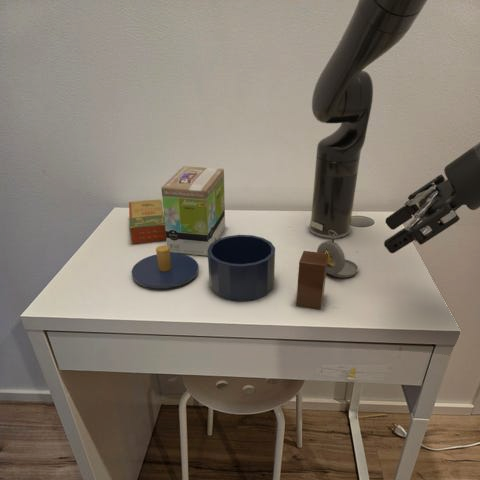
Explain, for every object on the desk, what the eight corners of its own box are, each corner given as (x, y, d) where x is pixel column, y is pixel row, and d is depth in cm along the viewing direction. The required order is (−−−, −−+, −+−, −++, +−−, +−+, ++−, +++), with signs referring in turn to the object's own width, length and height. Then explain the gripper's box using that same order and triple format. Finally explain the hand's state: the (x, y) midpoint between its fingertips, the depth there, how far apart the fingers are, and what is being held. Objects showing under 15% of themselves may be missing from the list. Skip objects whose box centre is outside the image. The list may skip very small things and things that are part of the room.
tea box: (210, 257, 94) (206, 190, 85) (166, 253, 96) (158, 187, 87) (226, 228, 106) (224, 166, 97) (187, 225, 108) (181, 164, 99)
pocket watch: (359, 265, 90) (366, 220, 84) (353, 286, 84) (361, 238, 78) (319, 260, 92) (324, 215, 86) (311, 279, 86) (316, 232, 80)
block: (300, 293, 82) (303, 250, 77) (323, 296, 81) (328, 253, 76) (295, 306, 79) (299, 262, 73) (320, 309, 78) (325, 265, 72)
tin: (216, 266, 91) (214, 233, 86) (276, 269, 89) (277, 236, 85) (204, 299, 81) (201, 263, 77) (270, 303, 79) (271, 267, 75)
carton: (163, 214, 114) (161, 198, 111) (168, 241, 101) (166, 223, 98) (130, 217, 112) (128, 201, 110) (131, 244, 100) (128, 227, 97)
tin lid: (144, 256, 95) (140, 232, 92) (204, 259, 93) (203, 235, 90) (122, 288, 84) (117, 262, 81) (190, 293, 83) (187, 267, 79)
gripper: (468, 133, 64) (374, 202, 73) (483, 162, 53) (371, 238, 62) (496, 172, 66) (401, 234, 75) (516, 208, 55) (402, 275, 64)
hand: (387, 236), depth 69 cm, fingers open, 8 cm apart
